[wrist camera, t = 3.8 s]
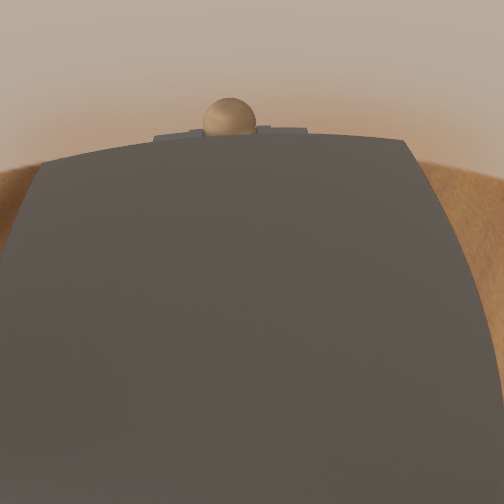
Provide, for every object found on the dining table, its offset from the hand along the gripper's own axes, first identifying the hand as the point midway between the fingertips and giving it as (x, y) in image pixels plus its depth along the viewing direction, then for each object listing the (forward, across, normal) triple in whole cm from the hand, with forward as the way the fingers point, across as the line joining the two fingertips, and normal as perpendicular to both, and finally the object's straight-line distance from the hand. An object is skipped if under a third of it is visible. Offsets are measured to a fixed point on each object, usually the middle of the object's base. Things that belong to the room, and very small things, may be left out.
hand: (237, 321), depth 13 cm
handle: (0, +1, -6) cm, 6 cm away
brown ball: (+10, 0, +9) cm, 13 cm away
